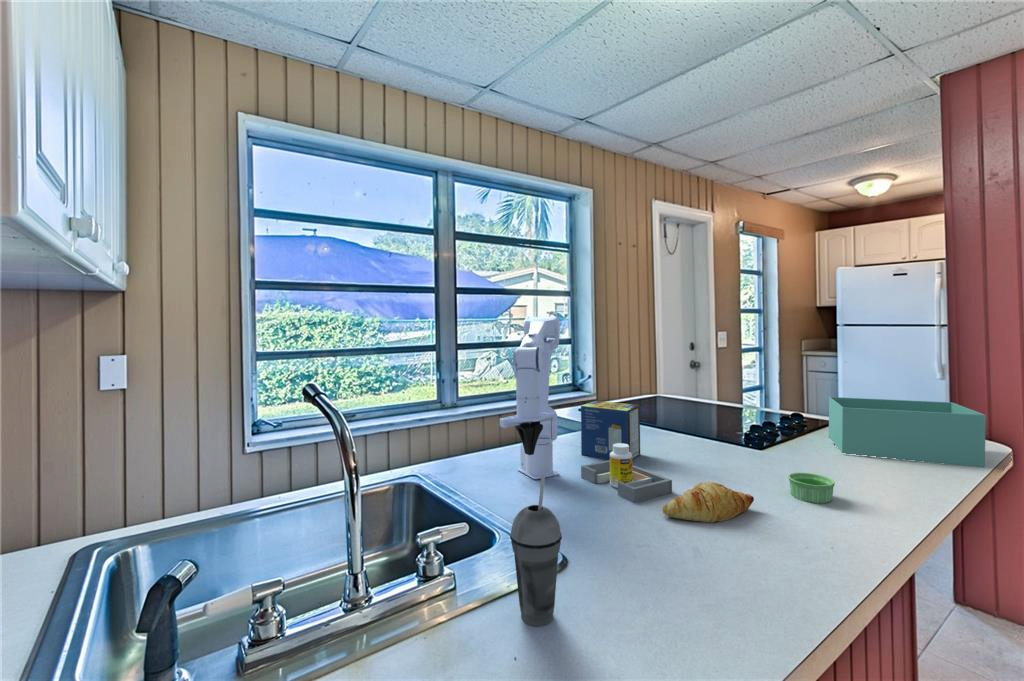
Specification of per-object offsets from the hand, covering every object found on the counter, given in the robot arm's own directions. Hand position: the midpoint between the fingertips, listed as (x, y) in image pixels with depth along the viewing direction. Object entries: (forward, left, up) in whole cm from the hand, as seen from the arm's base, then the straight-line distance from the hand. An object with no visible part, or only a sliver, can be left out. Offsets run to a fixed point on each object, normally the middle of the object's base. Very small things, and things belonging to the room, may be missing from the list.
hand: (529, 453), depth 110 cm
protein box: (-16, +38, -10) cm, 42 cm away
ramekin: (+34, +55, -10) cm, 65 cm away
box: (+26, +114, -10) cm, 118 cm away
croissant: (+28, +27, -10) cm, 41 cm away
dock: (+6, +24, -10) cm, 27 cm away
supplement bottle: (+6, +23, -10) cm, 26 cm away
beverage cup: (+40, -22, -10) cm, 47 cm away
